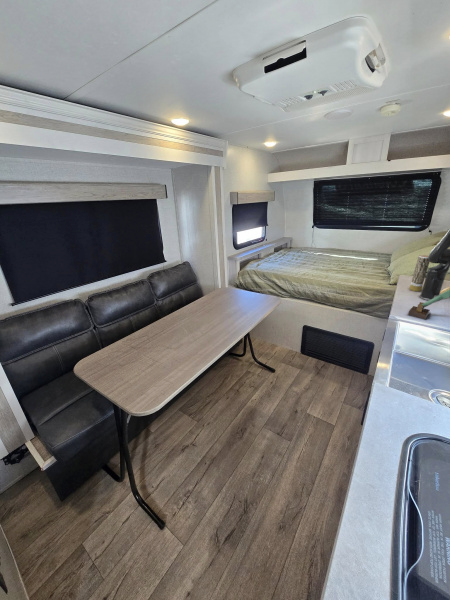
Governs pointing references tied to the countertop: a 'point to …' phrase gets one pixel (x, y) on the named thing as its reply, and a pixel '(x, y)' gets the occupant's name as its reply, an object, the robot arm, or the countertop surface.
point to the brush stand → (419, 311)
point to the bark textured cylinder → (419, 273)
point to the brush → (443, 294)
